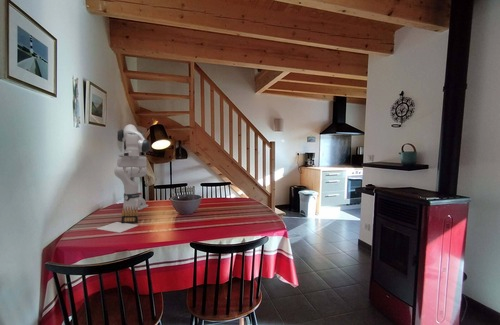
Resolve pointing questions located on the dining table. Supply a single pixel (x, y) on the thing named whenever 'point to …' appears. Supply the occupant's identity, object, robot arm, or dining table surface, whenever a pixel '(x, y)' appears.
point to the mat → (117, 227)
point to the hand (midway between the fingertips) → (132, 173)
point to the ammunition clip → (129, 215)
